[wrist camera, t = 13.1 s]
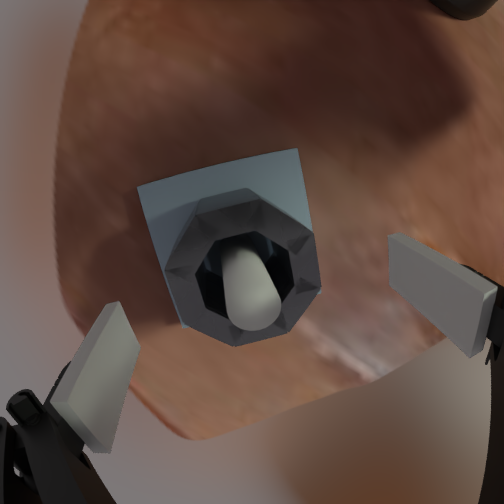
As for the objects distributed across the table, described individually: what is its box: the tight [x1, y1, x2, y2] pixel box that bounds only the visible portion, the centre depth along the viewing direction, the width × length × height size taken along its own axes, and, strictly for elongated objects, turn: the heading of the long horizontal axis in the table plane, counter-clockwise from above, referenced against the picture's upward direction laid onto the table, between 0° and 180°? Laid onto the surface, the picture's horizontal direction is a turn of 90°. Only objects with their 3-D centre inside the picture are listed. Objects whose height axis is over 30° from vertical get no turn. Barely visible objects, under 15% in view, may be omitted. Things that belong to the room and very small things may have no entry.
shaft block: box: [137, 148, 321, 331], centre depth 18 cm, size 12×12×12 cm
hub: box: [164, 188, 321, 347], centre depth 18 cm, size 8×8×6 cm
